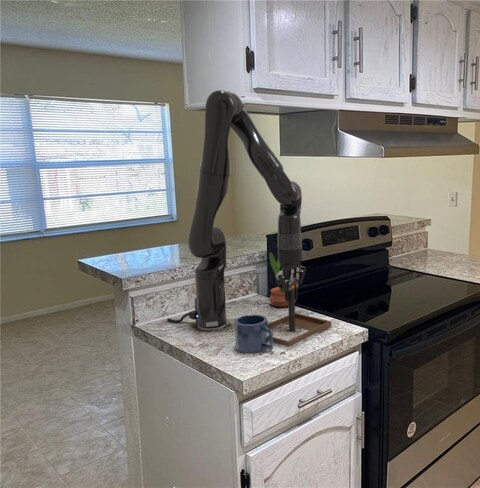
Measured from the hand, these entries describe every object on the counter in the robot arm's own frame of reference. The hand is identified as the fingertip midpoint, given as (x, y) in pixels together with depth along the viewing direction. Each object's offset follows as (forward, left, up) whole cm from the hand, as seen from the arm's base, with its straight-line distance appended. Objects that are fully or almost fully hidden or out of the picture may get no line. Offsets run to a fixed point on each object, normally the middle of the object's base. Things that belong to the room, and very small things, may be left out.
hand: (291, 300), depth 155 cm
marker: (0, 0, -10) cm, 10 cm away
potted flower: (-21, +21, -11) cm, 32 cm away
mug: (+1, -17, -11) cm, 20 cm away
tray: (0, 0, -11) cm, 11 cm away
